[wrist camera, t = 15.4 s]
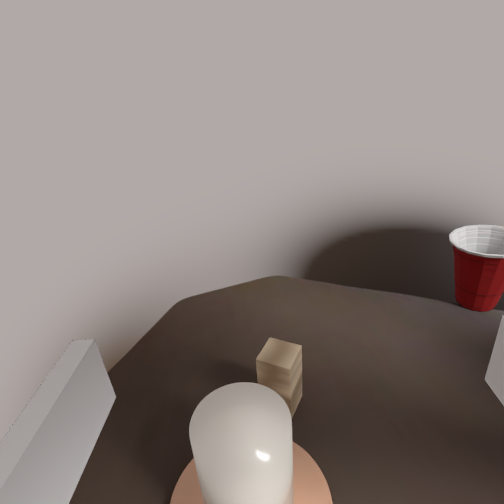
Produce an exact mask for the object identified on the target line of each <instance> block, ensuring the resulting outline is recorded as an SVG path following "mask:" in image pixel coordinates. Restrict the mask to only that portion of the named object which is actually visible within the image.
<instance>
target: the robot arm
mask: <svg viewBox="0 0 504 504" xmlns="http://www.w3.org/2000/svg"><path fill="white" fill-rule="evenodd" d="M485 381H486V382H487V384H488V385H489V386H490V388H491V389H492V391H493V392H494V393H495V395H496V396H497V397H498V399H499V400H500V401H501V403H502V404H503V406H504V315H503V316H502V320H501V323H500V327H499V330H498V334H497V337H496V341H495V344H494V348H493V351H492V355H491V358H490V362H489V365H488V369H487V372H486V376H485ZM115 399H116V395H115V393H114V390H113V387H112V385H111V382H110V379H109V377H108V374H107V371H106V369H105V366H104V363H103V360H102V358H101V355H100V353H99V350H98V347H97V344H96V342H95V339H84V340H72V341H71V343H70V344H69V346H68V347H67V348H66V350H65V351H64V353H63V354H62V356H61V357H60V358H59V360H58V361H57V363H56V364H55V365H54V367H53V368H52V370H51V371H50V373H49V374H48V375H47V377H46V378H45V380H44V381H43V383H42V384H41V385H40V387H39V388H38V390H37V391H36V392H35V394H34V395H33V397H32V398H31V400H30V401H29V403H28V404H27V405H26V407H25V408H24V410H23V411H22V412H21V414H20V415H19V417H18V418H17V419H16V421H15V422H14V424H13V425H12V427H11V428H10V429H9V431H8V432H7V434H6V435H5V437H4V438H3V439H2V441H1V442H0V504H69V502H70V500H71V498H72V495H73V493H74V491H75V489H76V486H77V484H78V482H79V480H80V477H81V475H82V473H83V471H84V468H85V466H86V464H87V462H88V459H89V457H90V455H91V453H92V450H93V448H94V446H95V444H96V441H97V439H98V437H99V435H100V432H101V430H102V428H103V426H104V423H105V421H106V419H107V417H108V414H109V412H110V410H111V408H112V405H113V403H114V401H115Z"/></svg>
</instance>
